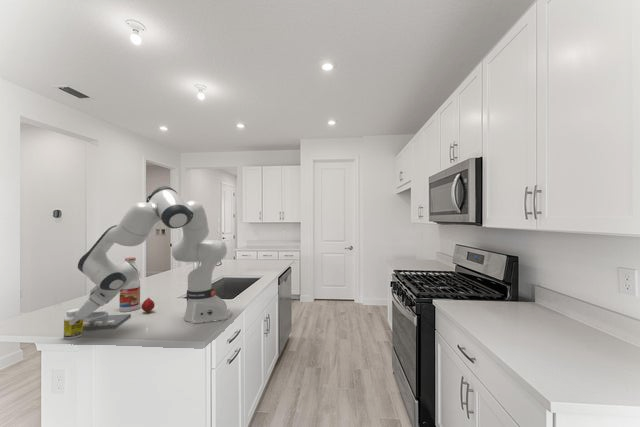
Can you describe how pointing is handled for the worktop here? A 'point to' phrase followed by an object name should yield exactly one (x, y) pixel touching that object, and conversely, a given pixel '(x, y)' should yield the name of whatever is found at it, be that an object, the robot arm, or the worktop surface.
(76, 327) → the pill bottle
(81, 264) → the robot arm
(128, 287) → the fruit juice
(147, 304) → the strawberry
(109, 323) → the plate
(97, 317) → the lockout collar
